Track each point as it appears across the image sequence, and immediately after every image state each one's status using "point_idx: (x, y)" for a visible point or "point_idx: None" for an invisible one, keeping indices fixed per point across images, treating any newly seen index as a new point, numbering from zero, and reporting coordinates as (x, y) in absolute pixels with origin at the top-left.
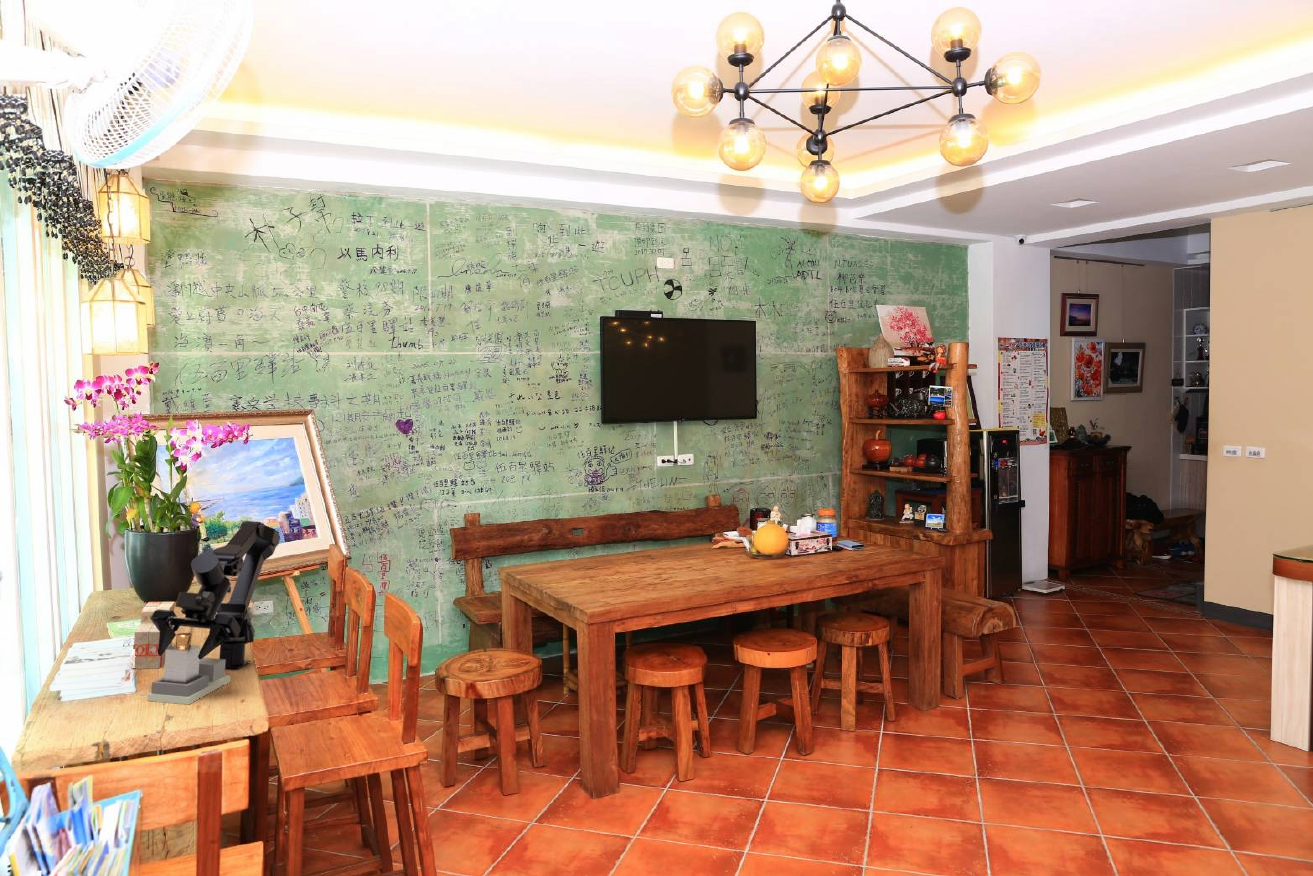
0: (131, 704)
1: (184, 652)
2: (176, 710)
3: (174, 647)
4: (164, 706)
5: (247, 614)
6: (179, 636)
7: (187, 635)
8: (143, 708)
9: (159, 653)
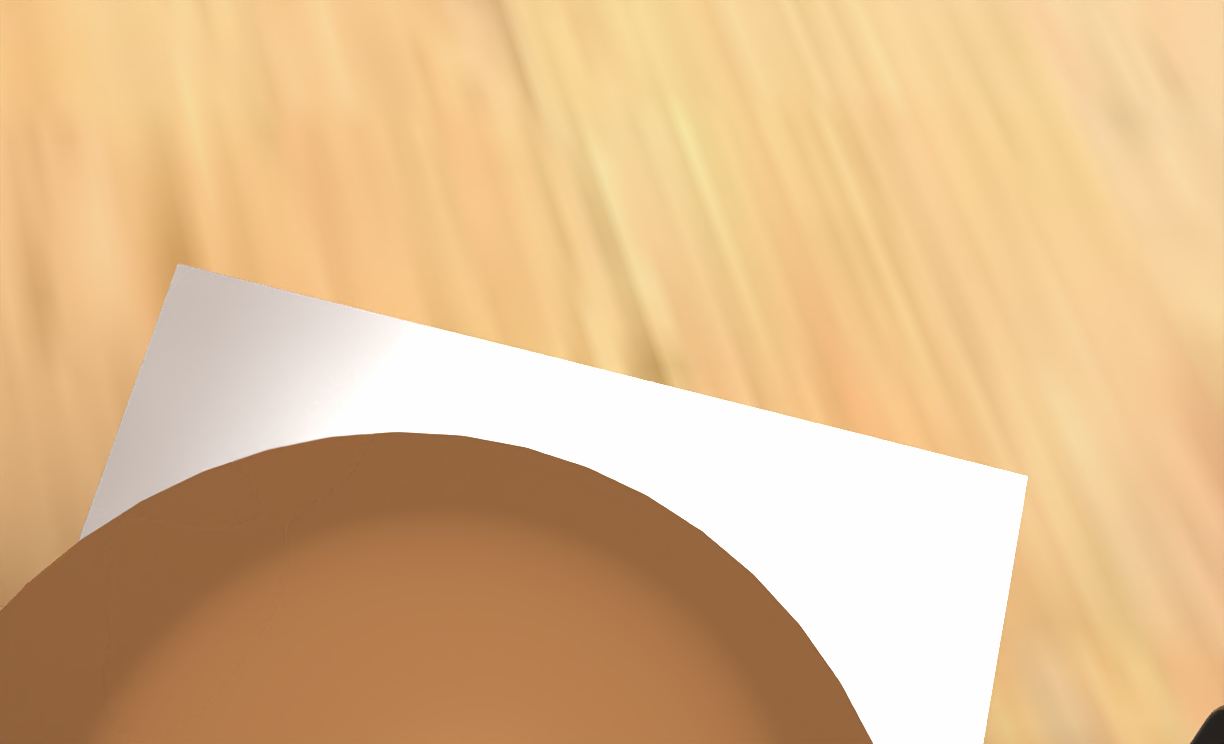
0: (1058, 341)
1: (303, 313)
2: (419, 120)
3: None
4: (616, 270)
5: None
6: (569, 461)
7: (53, 632)
8: (844, 187)
9: (1220, 714)
